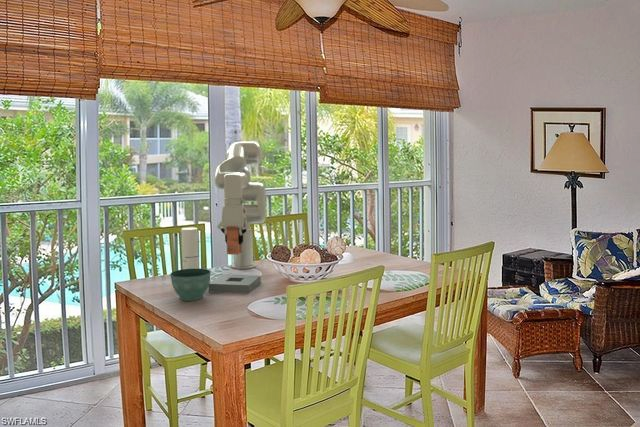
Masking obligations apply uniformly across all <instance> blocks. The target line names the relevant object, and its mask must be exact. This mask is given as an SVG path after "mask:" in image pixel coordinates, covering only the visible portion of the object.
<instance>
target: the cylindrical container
mask: <svg viewBox="0 0 640 427" xmlns="http://www.w3.org/2000/svg"><path fill="white" fill-rule="evenodd" d="M180 232H181V257H182V258H181V259H182V260H181V261H182V269H200V267H199V266H200V262H199V231H198V227H195V226H192V227H191V226H190V227H182V228H181V229H180Z"/></svg>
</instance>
